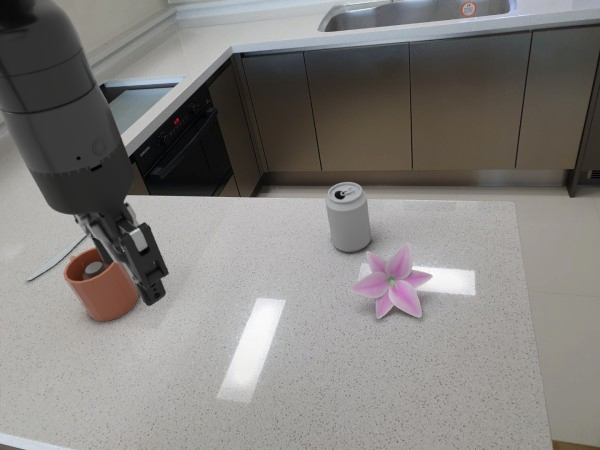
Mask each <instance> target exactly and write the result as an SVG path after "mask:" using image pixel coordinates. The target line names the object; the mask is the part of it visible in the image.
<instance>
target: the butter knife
mask: <svg viewBox="0 0 600 450" xmlns="http://www.w3.org/2000/svg"><path fill="white" fill-rule="evenodd" d="M85 237H87V235H86V234H85V232H84V231H83V233H81V234H80V235H79V236H78V237H76V239H75V240H73V241H72V242H71V243H69V244H68V245H67V246H66V247H64V248H63V249H61V250H60V251H59V252H58V253H57V254H55V255H54V256H53V257H52V258H50V259H49V260H48V261H47V262H45V263H44V264H43V265H42V266H41V267H39V268H38V269H36V271H34V272H33V273H32V274H31V275H29V276H28V277H27V278H26V281H31V280H34V279H35V278H36V277H39V276H40V275H42V274H43V273H45V272H46V271H48V270H49V269H51V268H53V267H54V266H55V265H56V264H57V263H59V262H60V261H62V260H63V258H65V256H67V255H68V254H69V253H70V252H71V251H72V250H73V249H74V248H75V247H76V246H77V244H78V243H80V242H81V241H82V240H83V239H84V238H85Z"/></svg>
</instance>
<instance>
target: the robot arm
mask: <svg viewBox="0 0 600 450" xmlns="http://www.w3.org/2000/svg"><path fill="white" fill-rule="evenodd" d="M93 71H94V70H93V68H92V66H91V63H90V61H89V59H88V56H87V54H86V50H85V48H84V45H83V42H82V40H81V37H80V35H79V33H78V30H77V28H76V26H75V24H74V22H73V20H72V18H71V17H70V15H69V14H68V12H67V11H66V10H65V9H64V8H63V7H62V6H61V5H60V4H58V3H57V2H56V1H55V0H0V114H1V116H2V119H3V122H4V124H5V127H6V130H7V132H8V134H9V137H10V138H11V141H12V143H13V144H14V146H15V148H16V150H17V152H18V154H19V155H20V157H21V159H22V161H23V163H24V164H25V166H26V168H27V169H28V171H29V173H30V175H31V177H32V179H33V180H34V182H35V184H36V186H37V187H38V189H39V191H40V194H41V195H42V196H43V198H44V200H45V202H46V203H47V205H48V207H50V208H51V209H52V210H53V211H55V212H57V213H60V214H62V215H70V216H73V218H74V222H75V223H76V224H78V226H79V227H80V228H81V229H82V231H83V233H84V232H85V234H86V237H88V238H89V239H91V241H92V243H93V244H94V246H95V247H96V248H97V250H98V252H99V254H100V256H101V258H102V260H103V261H104V262H105V263H106V264H111V263H113V262H115V263H117V264H123V265H124V267H125V268H126V270H127V272H128V273H129V275H130V276H131V279H132V281H133V282H134V283H135V285H136V287H137V290H138V292H139V296H140V298H141V300H142V302H143V303H144V304H145V305H146V307H151V306H153V305H155V304H156V303H158V302H159V301H160V300H162V299H163V298H164V297H165V296H166V295H167V291H166V289H165V286H164V283H163V281H162V279H163V278H165V277H166V276H168V275H169V274H170V272H169V269H168V267H167V265H166V262H165V259H164V257H163V255H162V252H161V250H160V248H159V246H158V245H159V244H157V241H156V239H155V236H154V234H153V231H152V228H151V226H150V224H148V223H146V221H144V222H142V223H139V222H138V221H137V213H136V212H135V210H134V209H133V207H132V206H131V204H130V203H129V202H128V201H125V200H126V198H127V197H128V195H129V193H130V191H131V190H132V188H133V186H134V184H135V181H136V173H135V169H134V168H133V167H134V166H133V164H132V162H131V159H130V157H129V153H128V151H127V149H126V145H125V143H124V140H123V138H122V136H121V133H120V130H119V128H118V125H117V123H116V119H115V116H114V115H113V111H112V109H111V106H110V105H109V104H110V103H108V100H107V98H106V97H105V95H104V93H103V91H102V90H101V88H100V85H99V83H98V81H97V79H96V77H95V74H94V72H93Z"/></svg>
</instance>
